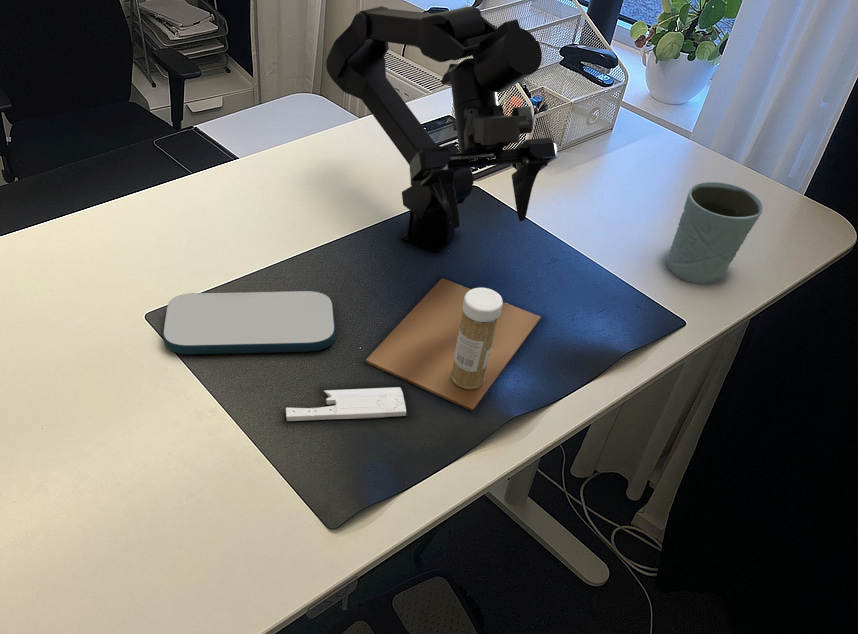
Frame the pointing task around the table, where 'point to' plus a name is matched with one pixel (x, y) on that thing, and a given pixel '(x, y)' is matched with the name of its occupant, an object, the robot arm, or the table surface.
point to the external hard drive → (249, 322)
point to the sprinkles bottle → (475, 337)
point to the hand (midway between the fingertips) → (490, 223)
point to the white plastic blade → (354, 405)
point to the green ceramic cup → (712, 231)
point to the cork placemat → (447, 344)
